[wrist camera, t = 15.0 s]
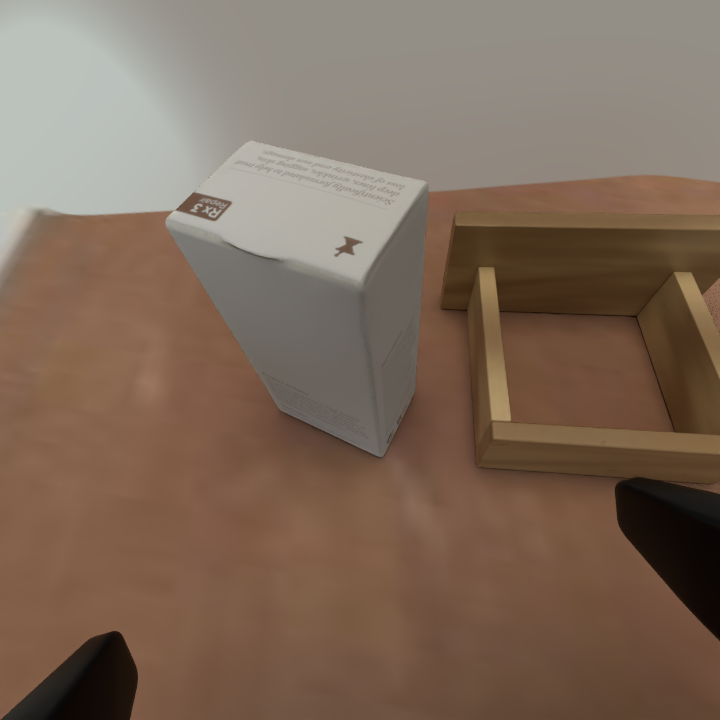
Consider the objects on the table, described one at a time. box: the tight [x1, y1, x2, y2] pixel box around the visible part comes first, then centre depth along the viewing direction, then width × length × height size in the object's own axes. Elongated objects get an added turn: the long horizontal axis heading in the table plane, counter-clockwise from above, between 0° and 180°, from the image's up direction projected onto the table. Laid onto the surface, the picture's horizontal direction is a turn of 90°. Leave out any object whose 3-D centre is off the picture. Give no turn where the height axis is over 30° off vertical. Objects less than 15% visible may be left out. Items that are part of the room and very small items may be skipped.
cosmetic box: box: [166, 140, 428, 457], centre depth 16 cm, size 6×4×12 cm
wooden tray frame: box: [440, 212, 720, 484], centre depth 18 cm, size 10×13×6 cm
